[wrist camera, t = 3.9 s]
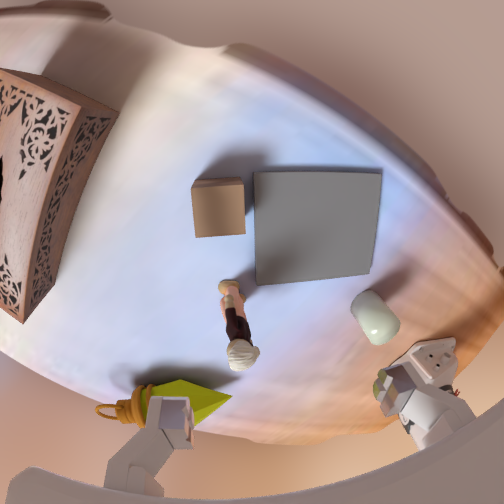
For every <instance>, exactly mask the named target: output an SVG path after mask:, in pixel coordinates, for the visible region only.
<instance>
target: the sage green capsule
mask: <svg viewBox="0 0 504 504" xmlns="http://www.w3.org/2000/svg"><path fill="white" fill-rule="evenodd" d="M351 313H352V314H353V316H354V317H355V319H356V320H357V322H358V323H359V325H360V326H361V328H362V329H363V331H364V332H365V334H366V335H367V337H368V338H369V340H370V341H371V343H372V344H374V345H382V344H384V343H387V342H388V341H390V340H391V339H392V338H393V337H394V336H395V335H396V334H397V332H398V331H399V328H400V320H399V319H398V318H397V316H396V315H395V314H394V313H393V312H392V310H391V309H390V308H389V307H388V306H387V305H386V303H385V302H384V301H383V300H382V299H381V298H380V297H379V295H378V294H377V293H376V292H375V291H372V290H367V291H364V292H362V293H360V294H359V295H357V296H356V297H355V299H354V300H353V302H352V304H351Z"/></svg>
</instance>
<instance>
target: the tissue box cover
mask: <svg viewBox="0 0 504 504" xmlns="http://www.w3.org/2000/svg"><path fill="white" fill-rule="evenodd" d="M119 114H120V113H119V112H117V111H115V110H113V109H111V108H109V107H107V106H105V105H103V104H101V103H99V102H97V101H95V100H93V99H91V98H89V97H87V96H85V95H83V94H81V93H78V92H76V91H74V90H72V89H70V88H68V87H65V86H63V85H61V84H59V83H57V82H54V81H52V80H50V79H47V78H45V77H43V76H40V75H36V74H31V73H26V72H21V71H16V70H10V69H4V68H0V187H1V189H0V308H2V309H3V310H4V311H5V312H7V313H8V314H9V315H11V316H12V317H14V318H15V319H16V320H18V321H19V322H20V323H22V324H24V323H25V321H26V320H27V319H28V317H29V316H30V315H31V313H32V312H33V311H34V309H35V308H36V307H37V306H38V304H39V303H40V302H41V301H42V299H43V298H44V297H45V296H46V294H47V293H48V292H49V291H50V290H51V288H52V287H53V286H54V285H55V280H56V276H57V272H58V268H59V264H60V260H61V256H62V252H63V249H64V245H65V242H66V238H67V235H68V232H69V229H70V226H71V223H72V220H73V217H74V214H75V211H76V208H77V205H78V203H79V200H80V197H81V195H82V192H83V190H84V187H85V185H86V182H87V180H88V177H89V175H90V173H91V170H92V168H93V166H94V163H95V161H96V159H97V157H98V155H99V153H100V151H101V148H102V146H103V144H104V142H105V140H106V138H107V136H108V134H109V132H110V131H111V129H112V127H113V125H114V123H115V121H116V119H117V118H118V116H119ZM2 179H3V180H2ZM1 183H2V185H1Z"/></svg>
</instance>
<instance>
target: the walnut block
mask: <svg viewBox="0 0 504 504" xmlns="http://www.w3.org/2000/svg"><path fill="white" fill-rule="evenodd" d="M191 196H192V207H193V217H194V227H195V236H196V238H200V237H212V236H226V235H239V234H246V231H245V206H244V184H243V182H242V180H241V179H240V177H230V178H215V179H203V180H195V181H194V183H193V185H192V187H191Z"/></svg>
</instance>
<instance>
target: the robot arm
mask: <svg viewBox="0 0 504 504" xmlns="http://www.w3.org/2000/svg"><path fill="white" fill-rule="evenodd" d="M455 344H456V340H455V338H454V337H450V338H444V339H438V340H431V341H424V342H417V343H416V344H414V345H413V346H412V347H411V348H410V349H409V350H408V352H407V353H406V354H405V355H403V356H402V357H401V358H399V359H398V360H397V361H395V362H394V363H393V364H392V365H391V366H390V367H387V368H383V369H381V370H380V371H379V372H378V377H379V378H378V379H377V380H376V381H375V382H374V385H373V393H374V396H375V398H376V400H378V401H379V402H381V405H380V408H381V410H382V412H383V414H384V415H385V417H389V416H392V415H395V414H397V413H398V416H399V418H400V420H401V423H402V425H403V426H404V428H405V430H406V432H407V433H408V434H410V435H411V437H412V438H413V440H414V442H415V444H416V446H417V448H418V450H419V451H418V452H416V453H414V454H412V455H410V456H408V457H406V458H403V459H401V460H399V461H396V462H394V463H392V464H389V465H387V466H384V467H381V468H379V469H376V470H374V471H371V472H368V473H365V474H362V475H359V476H356V477H353V478H349V479H346V480H343V481H339V482H336V483H332V484H328V485H324V486H319V487H315V488H311V489H306V490H301V491H296V492H290V493H284V494H277V495H270V496H261V497H251V498H240V499H239V498H238V499H180V498H179V499H178V498H165V497H164V488H163V487H162V486H161V485H160V484H159V483H158V482H157V481H156V480H155V479H154V477H155V475H156V474H157V473H158V471H159V470H160V469H161V468H162V466H163V465H164V463H165V462H166V461H167V459H168V458H169V457H170V455H171V454H172V452H173V451H174V449H194V435H193V432H192V430H193V429H194V413H193V409H192V407H190V401H189V398H188V397H165V396H151V398H150V401H149V407H148V413H147V419H146V425H145V428H141V429H140V430H139V431H138V432H137V433H136V434H135V435H134V436H133V437H132V438H131V439H130V440H129V441H128V442H127V443H126V444H125V445H124V446H123V447H122V448H121V449H120V450H119V451H118V452H117V453H116V454H115V455H114V456H113V457H112V458H111V459H110V460H109V461H108V465H107V470H106V476H105V482H104V487H99V486H95V485H92V484H88V483H84V482H81V481H77V480H74V479H71V478H68V477H65V476H62V475H59V474H56V473H53V472H51V471H48V470H45V469H42V468H40V467H37V466H30V467H28V468H26V469H25V470H23V471H22V472H20V473H19V474H17V475H16V476H15V477H14V478H12V480H11V481H10V484H9V487H8V492H7V497H6V502H5V504H504V398H503V399H502V400H500V401H499V402H498V403H497V404H495V405H494V406H493V407H491V408H490V409H489V410H487V411H486V412H484V413H483V414H482V415H480V416H479V417H477V418H476V416H475V415H474V413H473V412H472V410H471V409H470V407H469V406H468V405H467V403H466V402H465V400H463V399H461V398H458V397H457V396H458V394H459V393H460V392H458V389H457V390H456V391H455V393H454V392H453V388H452V383H453V380H454V377H455V374H456V370H457V367H458V360H457V357H456V356H455V354H454V353H453V351H454V348H455ZM457 392H458V394H457Z"/></svg>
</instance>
